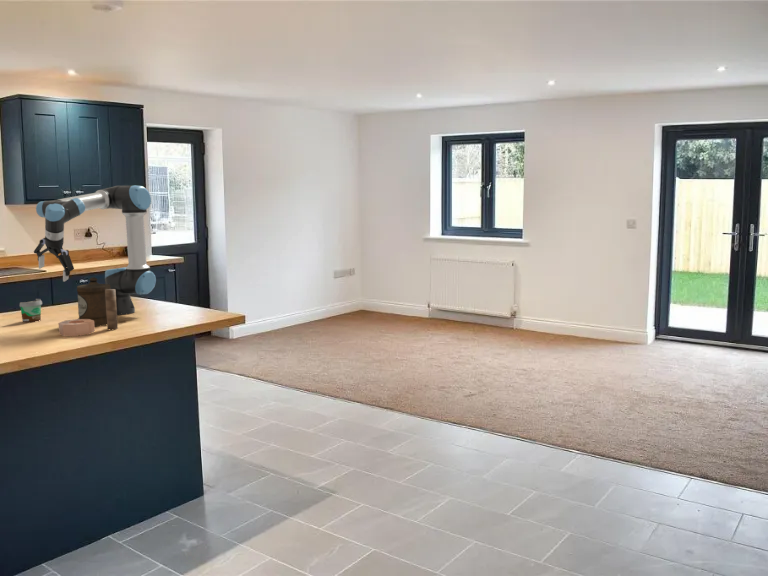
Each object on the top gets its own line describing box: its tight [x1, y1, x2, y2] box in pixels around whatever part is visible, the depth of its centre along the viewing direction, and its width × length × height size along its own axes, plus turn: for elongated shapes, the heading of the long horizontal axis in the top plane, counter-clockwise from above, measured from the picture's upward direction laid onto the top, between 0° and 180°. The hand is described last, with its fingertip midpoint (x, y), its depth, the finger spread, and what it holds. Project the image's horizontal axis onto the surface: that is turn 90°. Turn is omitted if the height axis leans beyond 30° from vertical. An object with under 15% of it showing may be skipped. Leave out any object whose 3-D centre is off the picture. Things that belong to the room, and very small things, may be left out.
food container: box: [19, 298, 43, 323], centre depth 343 cm, size 12×6×10 cm, turn 168°
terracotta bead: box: [58, 318, 96, 337], centre depth 314 cm, size 13×13×5 cm
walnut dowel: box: [105, 289, 119, 331], centre depth 322 cm, size 4×4×18 cm
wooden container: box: [76, 276, 110, 327], centre depth 336 cm, size 15×15×22 cm
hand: (53, 273), depth 327 cm, fingers open, 13 cm apart
